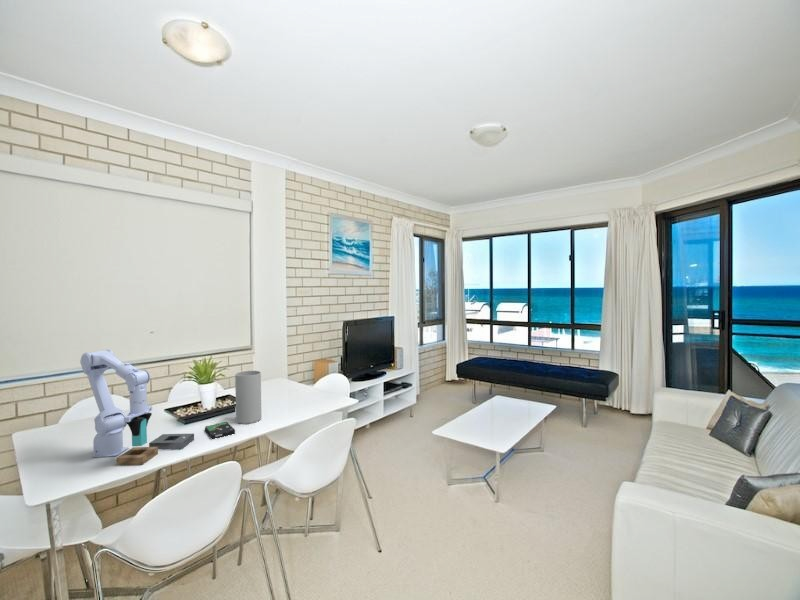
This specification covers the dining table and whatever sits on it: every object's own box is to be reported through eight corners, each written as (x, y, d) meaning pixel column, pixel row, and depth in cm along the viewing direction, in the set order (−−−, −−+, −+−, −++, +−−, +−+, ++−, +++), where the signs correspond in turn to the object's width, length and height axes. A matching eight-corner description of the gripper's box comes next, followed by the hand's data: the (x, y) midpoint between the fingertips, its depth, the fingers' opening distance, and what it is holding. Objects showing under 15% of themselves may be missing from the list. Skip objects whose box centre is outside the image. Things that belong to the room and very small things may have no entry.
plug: (132, 446, 150) (131, 419, 150) (138, 442, 154) (137, 416, 154) (141, 446, 150) (140, 419, 150) (146, 442, 154) (146, 416, 154)
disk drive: (235, 435, 178) (226, 426, 189) (235, 429, 178) (226, 420, 189) (212, 441, 171) (204, 431, 183) (212, 435, 171) (204, 425, 183)
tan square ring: (116, 465, 146) (116, 458, 146) (133, 454, 156) (133, 447, 156) (142, 464, 147) (142, 457, 147) (157, 453, 157) (157, 446, 157)
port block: (149, 450, 161) (149, 442, 160) (162, 440, 170) (162, 433, 170) (182, 449, 161) (182, 441, 161) (194, 439, 171) (193, 432, 171)
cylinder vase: (255, 424, 190) (254, 376, 190) (231, 424, 191) (230, 375, 190) (265, 416, 203) (264, 370, 202) (243, 415, 203) (242, 370, 203)
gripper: (136, 406, 145) (137, 440, 145) (159, 395, 159) (160, 426, 159) (117, 406, 144) (118, 440, 145) (142, 395, 159) (143, 427, 159)
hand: (139, 433), depth 152 cm, fingers closed on plug, 4 cm apart
